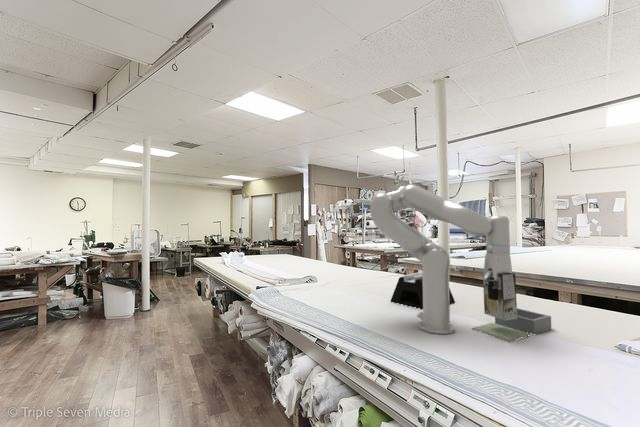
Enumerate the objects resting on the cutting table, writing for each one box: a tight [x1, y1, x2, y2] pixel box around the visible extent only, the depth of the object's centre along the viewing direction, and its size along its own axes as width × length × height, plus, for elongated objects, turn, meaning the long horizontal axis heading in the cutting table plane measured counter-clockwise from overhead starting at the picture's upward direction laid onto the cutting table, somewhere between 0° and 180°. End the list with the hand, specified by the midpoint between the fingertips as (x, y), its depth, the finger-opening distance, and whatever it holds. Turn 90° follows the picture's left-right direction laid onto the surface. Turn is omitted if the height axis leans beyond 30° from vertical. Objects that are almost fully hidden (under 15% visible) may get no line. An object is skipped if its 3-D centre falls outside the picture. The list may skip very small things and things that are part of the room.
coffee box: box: [482, 270, 518, 320], centre depth 111 cm, size 9×6×16 cm
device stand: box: [390, 271, 456, 310], centre depth 154 cm, size 22×22×15 cm
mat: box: [471, 322, 531, 343], centre depth 111 cm, size 14×12×1 cm
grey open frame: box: [494, 307, 552, 335], centre depth 118 cm, size 14×11×6 cm
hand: (499, 297), depth 111 cm, fingers closed on coffee box, 7 cm apart
